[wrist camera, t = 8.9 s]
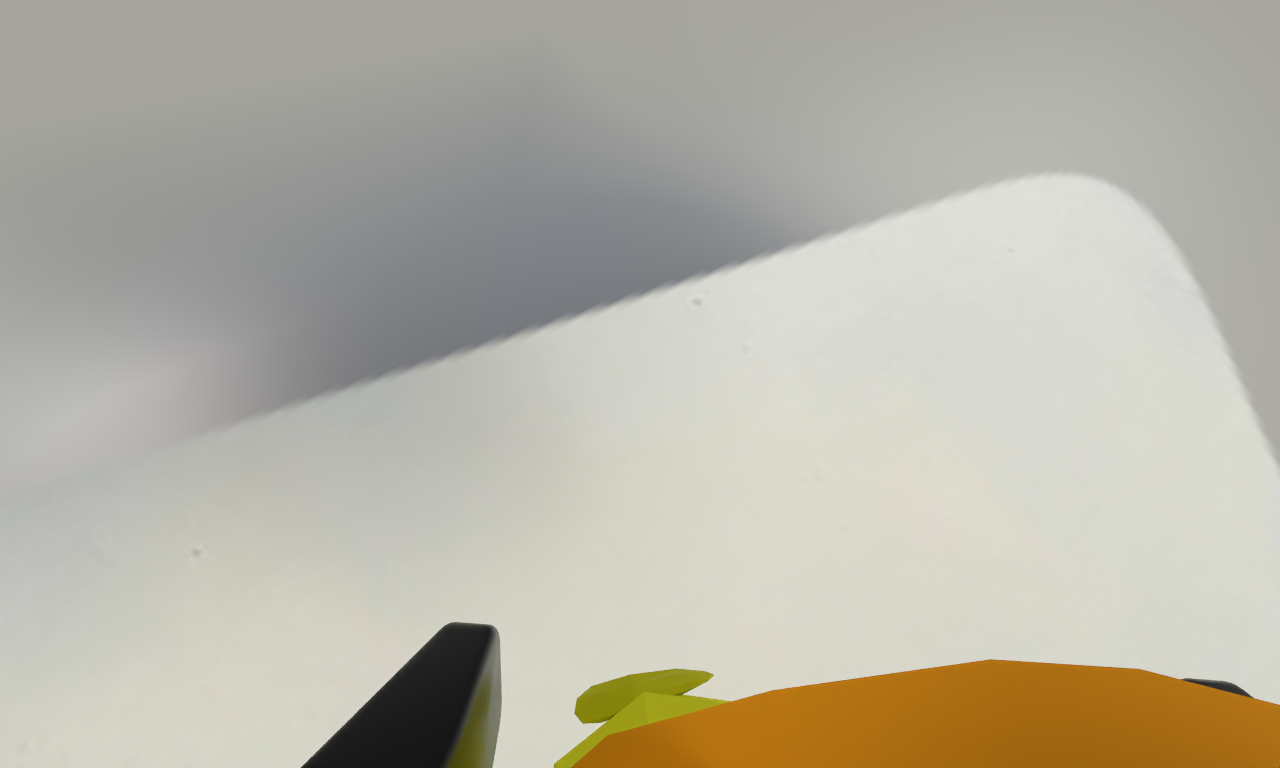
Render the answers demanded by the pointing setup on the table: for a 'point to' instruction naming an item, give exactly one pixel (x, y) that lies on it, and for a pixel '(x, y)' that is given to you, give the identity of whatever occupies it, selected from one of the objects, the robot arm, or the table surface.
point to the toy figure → (931, 722)
